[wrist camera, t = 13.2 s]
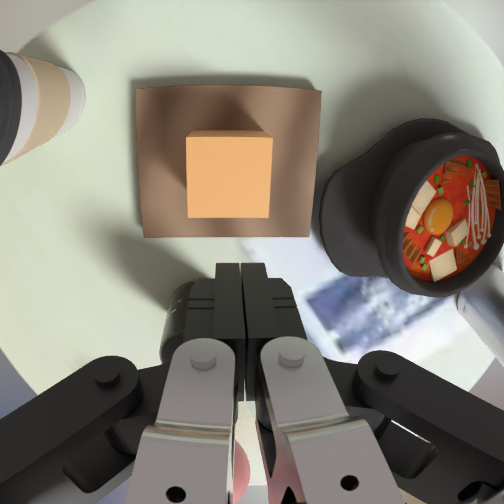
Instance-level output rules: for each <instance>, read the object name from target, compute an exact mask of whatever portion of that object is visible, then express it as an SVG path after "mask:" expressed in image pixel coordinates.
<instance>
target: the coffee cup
mask: <svg viewBox="0 0 504 504" xmlns="http://www.w3.org/2000/svg"><path fill="white" fill-rule="evenodd" d="M85 99H86V93H85V87H84V84H83V82H82V80H81V78H80V77H79V76H78V75H77V74H76V73H75V72H73V71H71V70H68V69H64V68H61V67H58V66H56V65H54V64H52V63H49V62H45V61H42V60H38V59H35V58H31V57H27V56H24V55H20V54H15V53H11V52H8V53H7V52H6V53H4V52H3V51H1V50H0V166H2V165H5V164H8V163H9V162H11V161H13V160H15V159H16V158H18V157H20V156H22V155H23V154H25V153H27V152H29V151H30V150H32V149H34V148H36V147H38V146H40V145H41V144H43V143H45V142H47V141H49V140H50V139H51V138H53V137H55V136H57V135H59V134H61V133H63V132H65V131H67V130H69V129H70V128H71V127H72V126H73V125H74V124H75V123H76V122H77V121H78V119H79V118H80V116H81V114H82V112H83V109H84V105H85Z"/></svg>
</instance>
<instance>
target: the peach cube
mask: <svg viewBox="0 0 504 504" xmlns="http://www.w3.org/2000/svg"><path fill="white" fill-rule="evenodd" d="M272 145H273V138H272V137H271V136H270V135H268V134H267V133H266V132H265V131H246V130H194V131H193V132H191V133H190V134H189V135H188V136H187V137H186V169H187V206H188V218H269V202H270V184H271V165H272Z"/></svg>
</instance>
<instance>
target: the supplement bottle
mask: <svg viewBox="0 0 504 504" xmlns="http://www.w3.org/2000/svg"><path fill="white" fill-rule="evenodd" d="M195 283H196V282H192V283H188V284H185V285H183V286H181V287H180V288H178V289H177V290H176V291H175V293H174V294H173V296H172V298H171V300H170V304H169V308H168V312H167V317H166V321H165V326H164V330H163V335H162V340H161V345H160V351H159V355H160V360H161V363H162V364H164V363H166V362H168V361H170V360H171V359H172V357H173V354H174V352H175V351H176V349H177V348H178V347H179V346H181V345H182V344H183V337H184V330H185V323H186V316H187V310H188V303H189V297H190V290H191V287H192V286H193V285H194V284H195Z"/></svg>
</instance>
